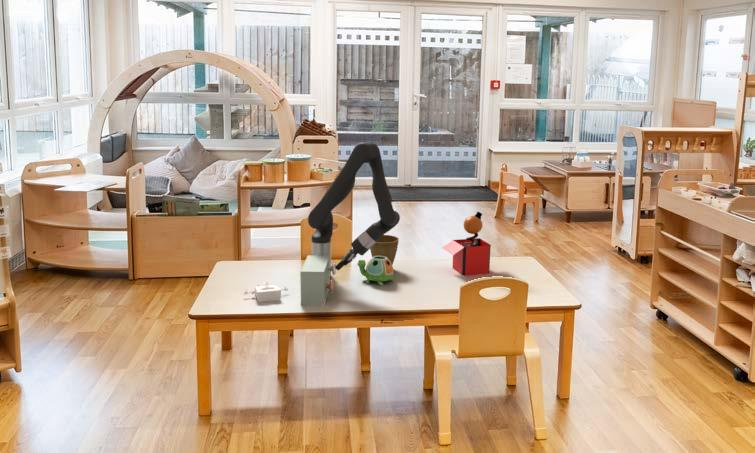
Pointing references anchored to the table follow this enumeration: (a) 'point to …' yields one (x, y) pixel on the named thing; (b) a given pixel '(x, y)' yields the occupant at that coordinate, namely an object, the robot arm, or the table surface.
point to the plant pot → (385, 247)
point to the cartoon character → (267, 293)
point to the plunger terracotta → (330, 286)
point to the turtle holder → (377, 269)
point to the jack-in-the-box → (470, 250)
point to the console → (315, 280)
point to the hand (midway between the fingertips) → (336, 268)
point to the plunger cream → (332, 268)
